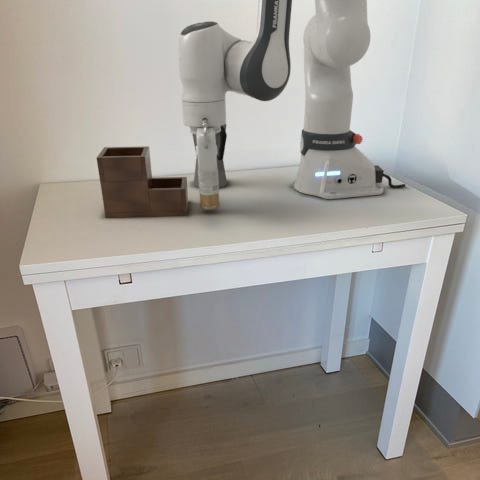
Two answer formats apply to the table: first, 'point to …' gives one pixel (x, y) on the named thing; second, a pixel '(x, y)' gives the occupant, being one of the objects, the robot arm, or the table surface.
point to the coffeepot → (220, 144)
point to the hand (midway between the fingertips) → (208, 181)
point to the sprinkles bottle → (209, 189)
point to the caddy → (138, 185)
